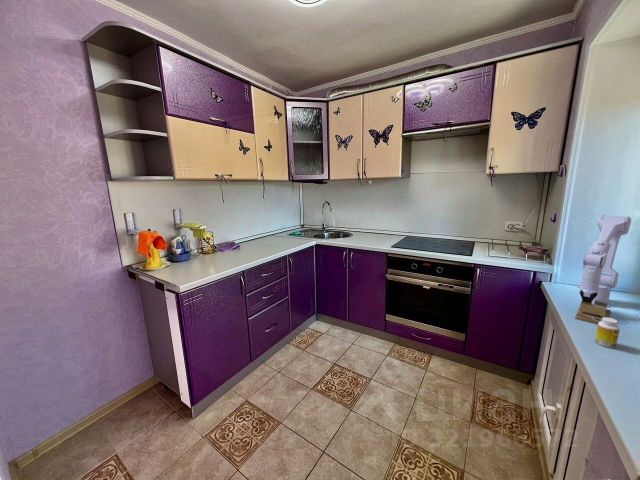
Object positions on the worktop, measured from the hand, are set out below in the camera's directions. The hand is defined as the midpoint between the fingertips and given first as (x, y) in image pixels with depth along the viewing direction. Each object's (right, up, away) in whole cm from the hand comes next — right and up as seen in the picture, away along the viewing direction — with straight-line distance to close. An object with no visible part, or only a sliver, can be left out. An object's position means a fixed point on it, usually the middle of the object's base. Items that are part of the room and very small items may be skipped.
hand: (586, 306), depth 123 cm
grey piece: (+2, -3, -3) cm, 5 cm away
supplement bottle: (-15, -9, -22) cm, 28 cm away
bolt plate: (+2, -4, -2) cm, 4 cm away
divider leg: (-1, -3, -3) cm, 4 cm away
